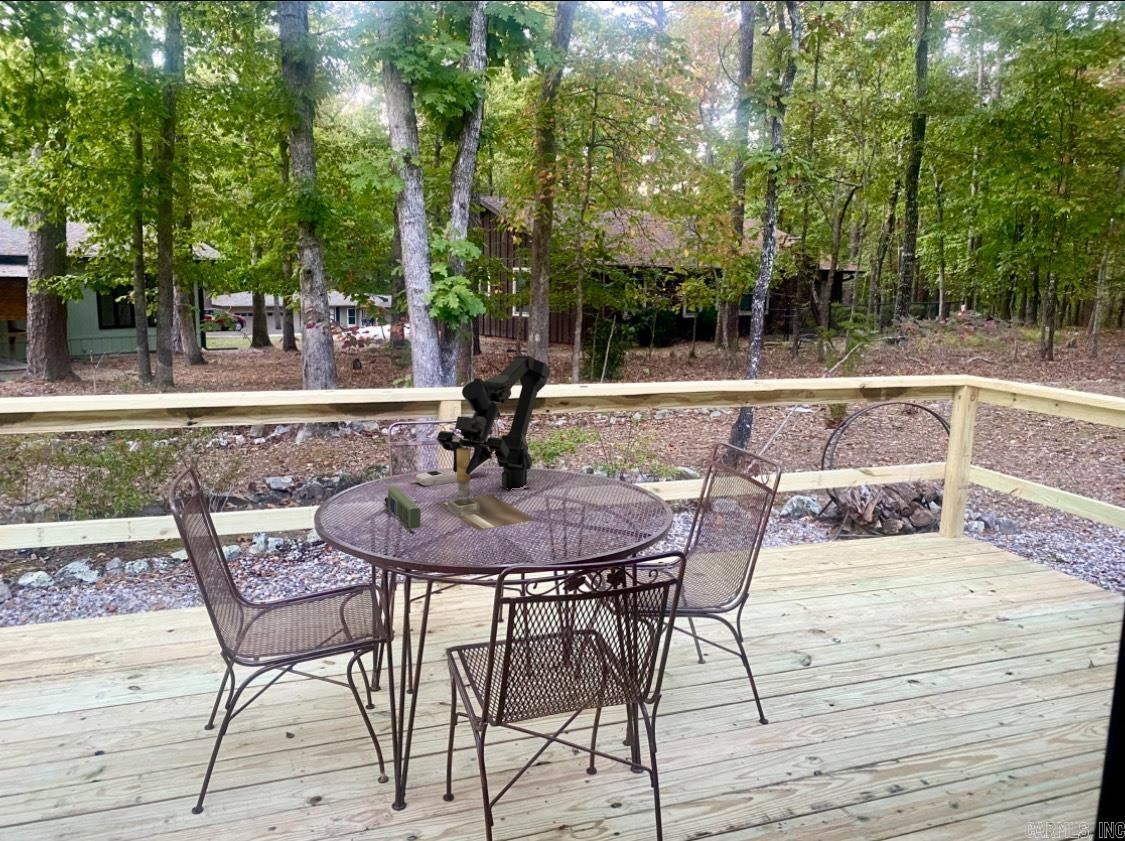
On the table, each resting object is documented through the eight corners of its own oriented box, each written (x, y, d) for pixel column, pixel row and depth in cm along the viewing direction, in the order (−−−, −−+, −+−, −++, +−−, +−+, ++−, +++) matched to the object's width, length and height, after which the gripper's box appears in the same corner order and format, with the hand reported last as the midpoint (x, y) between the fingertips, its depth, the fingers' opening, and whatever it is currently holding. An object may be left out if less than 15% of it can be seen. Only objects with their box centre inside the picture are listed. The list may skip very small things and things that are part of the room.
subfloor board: (491, 499, 202) (491, 486, 201) (535, 524, 184) (535, 509, 183) (438, 509, 193) (438, 494, 193) (478, 536, 175) (478, 520, 174)
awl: (469, 492, 189) (469, 447, 186) (471, 496, 185) (471, 450, 183) (456, 493, 188) (455, 448, 185) (457, 497, 185) (457, 451, 182)
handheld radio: (408, 535, 175) (380, 504, 196) (421, 533, 177) (392, 503, 198) (408, 508, 174) (380, 480, 195) (422, 507, 175) (392, 479, 197)
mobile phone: (492, 458, 224) (416, 469, 209) (492, 477, 225) (417, 489, 211) (483, 454, 229) (408, 464, 214) (483, 472, 230) (408, 484, 215)
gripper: (439, 400, 189) (416, 451, 181) (504, 407, 182) (482, 460, 174) (455, 424, 198) (434, 473, 190) (517, 431, 191) (497, 483, 183)
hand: (460, 472), depth 184 cm, fingers closed on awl, 3 cm apart
